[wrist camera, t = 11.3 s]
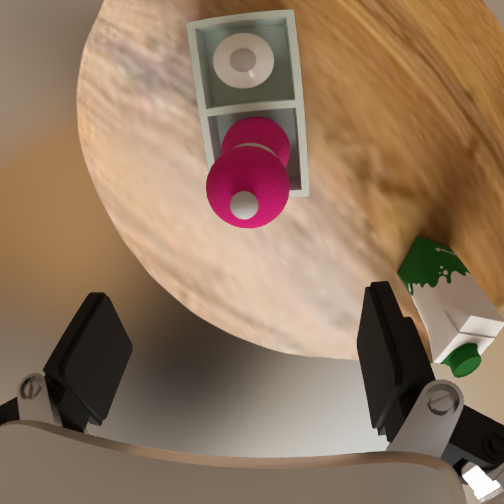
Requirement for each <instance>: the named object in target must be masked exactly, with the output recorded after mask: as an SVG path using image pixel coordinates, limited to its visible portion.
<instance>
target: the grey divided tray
mask: <svg viewBox="0 0 504 504" xmlns="http://www.w3.org/2000/svg"><path fill="white" fill-rule="evenodd" d="M186 25H187V33H188V40H189V48H190V55H191V62H192V69H193V76H194V83H195V90H196V96H197V103H198V110H199V116H200V122H201V129H202V135H203V141H204V147H205V154H206V160H207V166H208V171H210V169H211V166H212V165H213V164H214V162H215V161H216V160H217V158H219V157H220V156H221V155H222V154H221V148H222V142H223V139H224V137H225V135H226V133H227V131H228V130H229V129H230V127H231V126H232V125H234V124H235V123H236V122H238V121H240V120H242V119H244V118H248V117H255V116H259V117H265V118H268V119H270V120H272V121H273V122H275V123H277V124H278V125H279V126H280V127H281V128H282V129H283V130H284V132H285V133H286V135H287V137H288V140H289V144H290V155H289V160H288V163H287V165H286V167H285V169H286V171H287V173H288V177H289V181H290V191H289V197H302V196H309V178H308V158H307V142H306V127H305V114H304V101H303V90H302V79H301V69H300V59H299V50H298V41H297V33H296V25H295V17H294V10H274V11H262V12H251V13H243V14H235V15H228V16H221V17H215V18H209V19H203V20H198V21H193V22H188V23H186ZM238 33H250V34H254V35H256V36H259V37H260V38H262V39H263V40H265V41H266V42H267V43H268V45H269V46H270V48H271V49H272V52H273V56H274V66H273V70H272V73H271V74H270V76H269V77H268V78H267V79H266V80H265V81H264V82H262V83H261V84H259V85H257V86H254V87H251V88H235V87H232V86H230V85H228V84H226V83H224V82H223V81H222V80H221V79H220V78H219V77H218V75H217V74H216V72H215V69H214V65H213V57H214V53H215V50H216V48H217V47H218V45H219V44H220V43H221V42H222V41H223V40H224V39H226V38H227V37H229V36H231V35H234V34H238Z"/></svg>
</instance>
